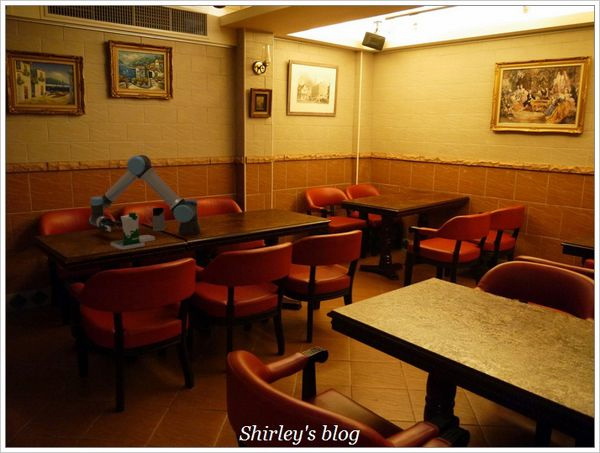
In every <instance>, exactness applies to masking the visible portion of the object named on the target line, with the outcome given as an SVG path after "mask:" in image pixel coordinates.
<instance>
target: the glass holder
mask: <svg viewBox="0 0 600 453" xmlns="http://www.w3.org/2000/svg"><path fill="white" fill-rule="evenodd" d="M147 211H149V212H150V216H151V217H152V222H151V221H150V220H149V218H148V216H147ZM145 217H146V220H147V221H148V222H149V223H150V224H151V225H152V227H153V228H152V231H156V232H161V231H165V230H166V227H165V225H166V224H165V223H166V222H165V208H164V207H153V208H152V211H151V210H150V209H146V210H145Z"/></svg>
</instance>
